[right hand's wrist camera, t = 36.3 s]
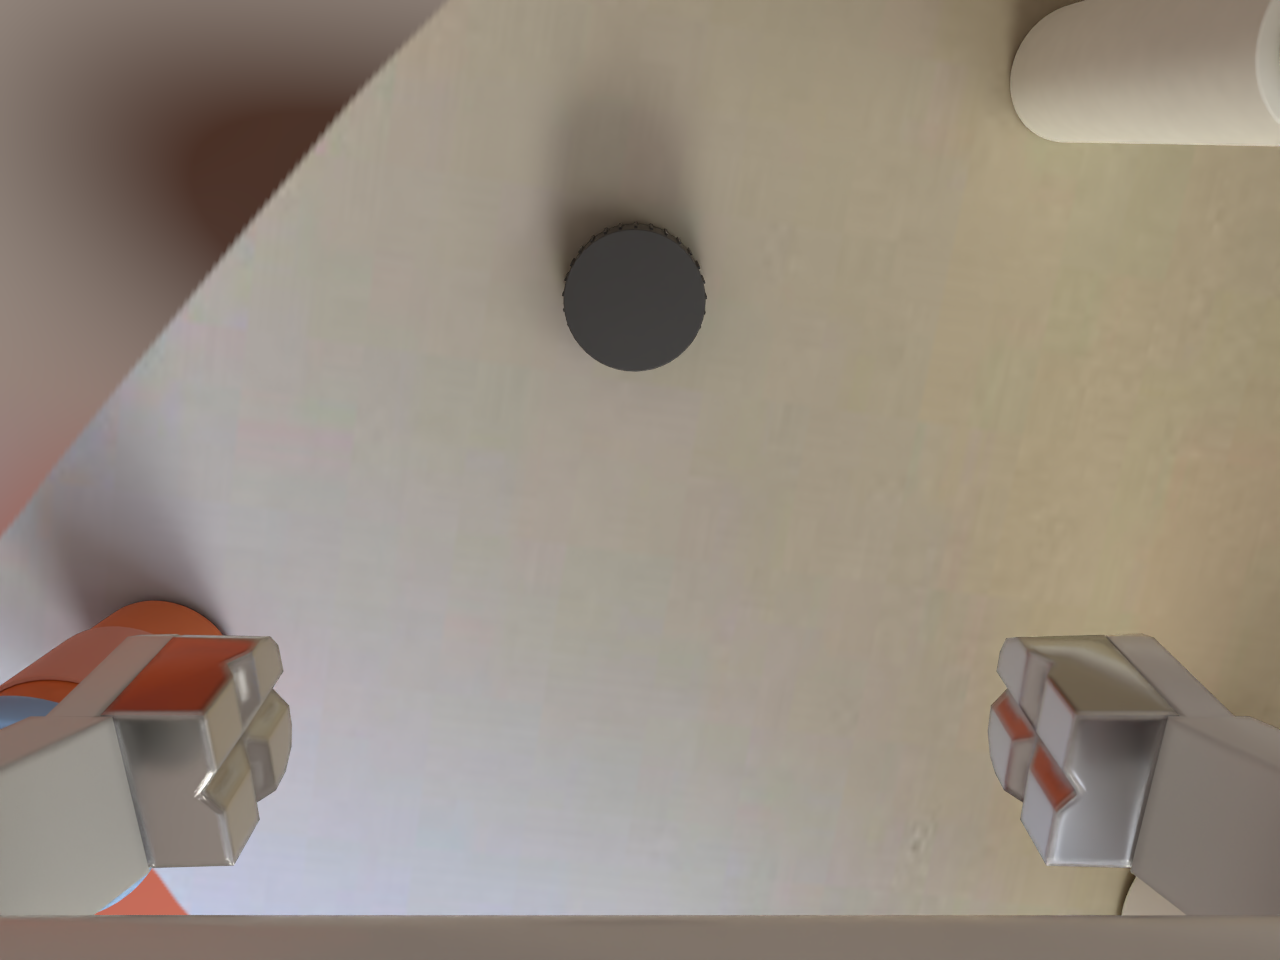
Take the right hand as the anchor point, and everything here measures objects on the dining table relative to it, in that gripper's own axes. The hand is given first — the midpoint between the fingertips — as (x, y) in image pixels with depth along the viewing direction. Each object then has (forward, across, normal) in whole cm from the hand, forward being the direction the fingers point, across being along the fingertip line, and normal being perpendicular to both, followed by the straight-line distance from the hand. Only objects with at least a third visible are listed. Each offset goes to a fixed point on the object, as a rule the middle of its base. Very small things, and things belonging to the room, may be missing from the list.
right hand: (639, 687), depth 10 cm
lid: (+25, 0, 0) cm, 25 cm away
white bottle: (+27, +16, +8) cm, 32 cm away
